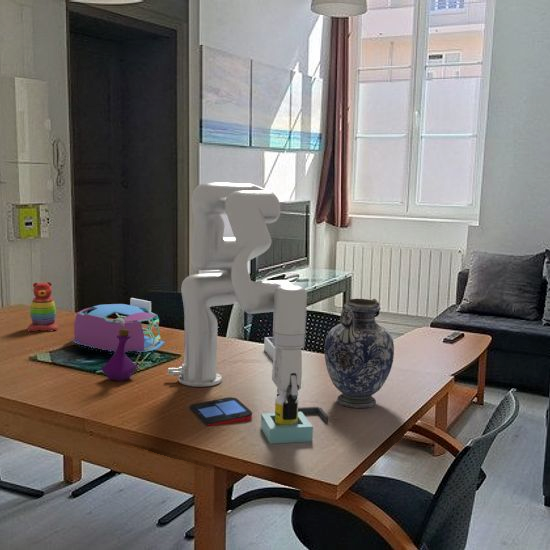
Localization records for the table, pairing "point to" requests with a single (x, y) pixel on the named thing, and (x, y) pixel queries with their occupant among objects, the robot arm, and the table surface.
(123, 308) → the stadium
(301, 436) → the port
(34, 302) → the stacking bear
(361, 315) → the decorative vase
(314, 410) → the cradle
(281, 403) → the supplement bottle
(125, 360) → the perfume bottle
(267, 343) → the box
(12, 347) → the table surface
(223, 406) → the game console
